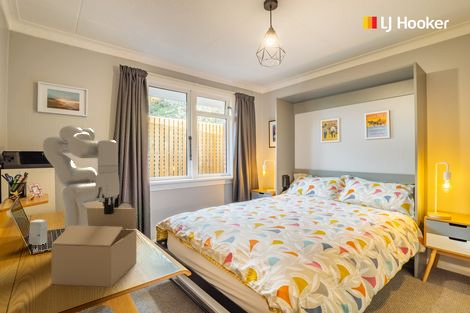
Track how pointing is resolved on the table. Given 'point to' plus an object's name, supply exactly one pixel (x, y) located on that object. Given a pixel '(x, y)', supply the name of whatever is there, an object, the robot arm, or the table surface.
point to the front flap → (88, 235)
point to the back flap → (112, 218)
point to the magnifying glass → (125, 205)
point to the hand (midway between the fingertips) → (108, 213)
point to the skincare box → (38, 232)
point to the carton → (94, 261)
